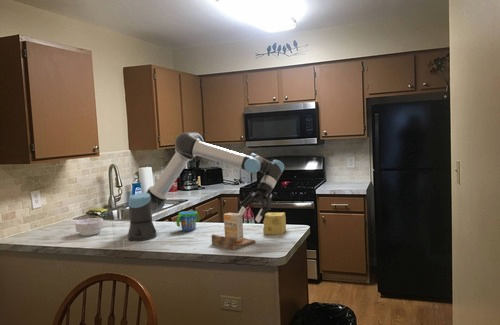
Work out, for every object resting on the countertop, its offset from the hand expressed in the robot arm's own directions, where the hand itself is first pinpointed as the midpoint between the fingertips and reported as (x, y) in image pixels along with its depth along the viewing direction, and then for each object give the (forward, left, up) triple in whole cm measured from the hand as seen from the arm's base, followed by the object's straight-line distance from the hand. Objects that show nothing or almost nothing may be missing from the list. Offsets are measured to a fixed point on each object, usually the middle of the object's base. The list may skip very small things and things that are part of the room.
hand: (247, 219), depth 200 cm
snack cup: (-44, -5, -10) cm, 46 cm away
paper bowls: (-87, -44, -10) cm, 98 cm away
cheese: (+2, +18, -10) cm, 21 cm away
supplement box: (0, -9, -9) cm, 13 cm away
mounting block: (0, -10, -10) cm, 14 cm away
